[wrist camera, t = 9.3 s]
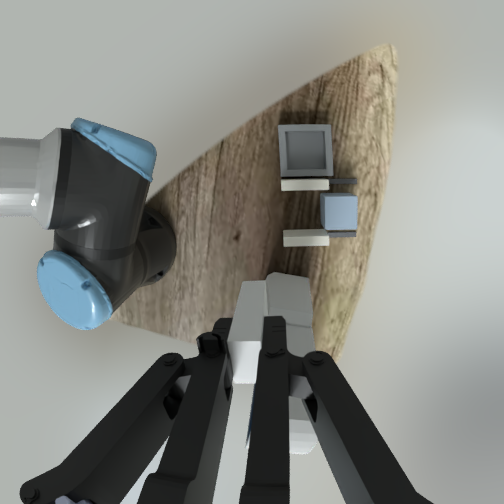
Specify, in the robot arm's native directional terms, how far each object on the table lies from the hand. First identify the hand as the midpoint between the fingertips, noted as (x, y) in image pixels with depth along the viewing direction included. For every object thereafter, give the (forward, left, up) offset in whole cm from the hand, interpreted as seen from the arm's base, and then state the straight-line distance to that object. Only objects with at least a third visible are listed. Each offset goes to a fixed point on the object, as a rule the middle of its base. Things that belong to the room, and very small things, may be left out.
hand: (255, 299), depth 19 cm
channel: (+6, +1, -29) cm, 30 cm away
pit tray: (+6, +11, -29) cm, 32 cm away
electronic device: (+1, -16, -29) cm, 33 cm away
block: (+11, +1, -29) cm, 31 cm away
